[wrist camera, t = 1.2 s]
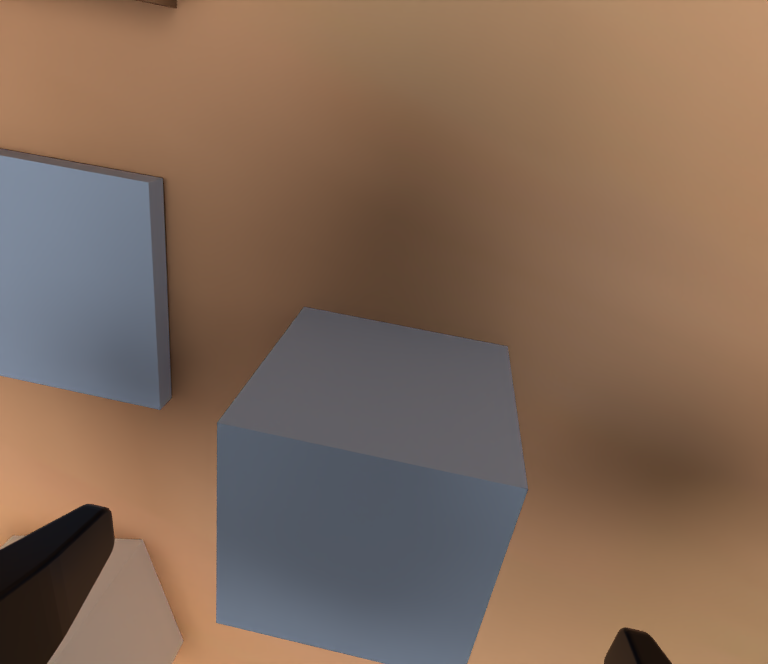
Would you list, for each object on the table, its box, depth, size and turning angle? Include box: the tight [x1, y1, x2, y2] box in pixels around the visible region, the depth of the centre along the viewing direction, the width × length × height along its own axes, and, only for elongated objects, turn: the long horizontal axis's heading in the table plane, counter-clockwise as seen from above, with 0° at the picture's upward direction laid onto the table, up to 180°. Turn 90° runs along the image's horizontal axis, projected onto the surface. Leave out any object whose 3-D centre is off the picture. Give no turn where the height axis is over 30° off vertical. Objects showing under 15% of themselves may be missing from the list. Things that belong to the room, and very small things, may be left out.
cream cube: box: [0, 536, 183, 664], centre depth 17 cm, size 5×5×5 cm
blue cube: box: [216, 307, 528, 664], centre depth 12 cm, size 5×5×5 cm
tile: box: [0, 149, 172, 410], centre depth 13 cm, size 6×6×1 cm
